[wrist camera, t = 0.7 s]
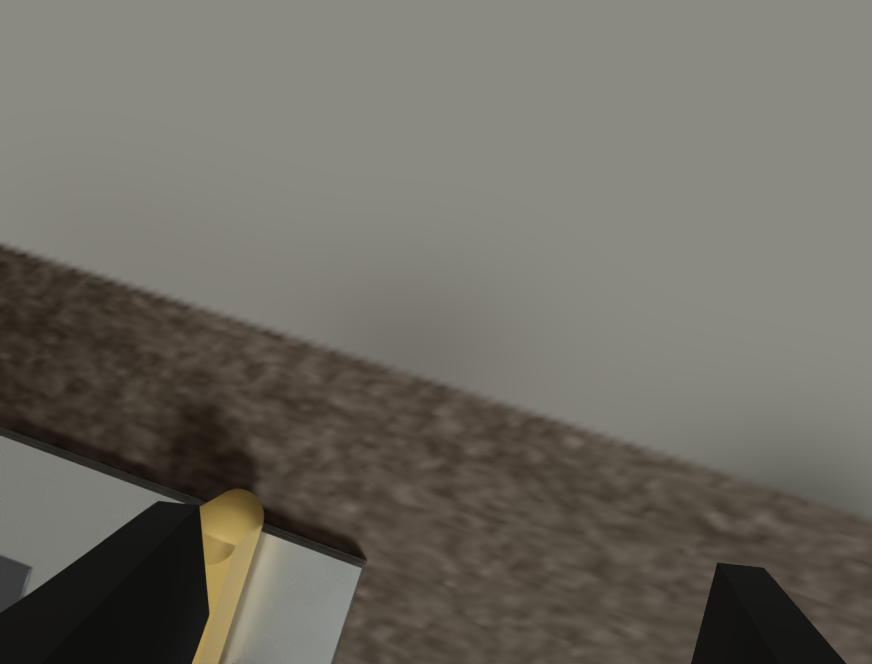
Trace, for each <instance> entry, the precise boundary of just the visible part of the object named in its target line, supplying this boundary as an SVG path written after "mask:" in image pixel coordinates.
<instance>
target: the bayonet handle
mask: <svg viewBox="0 0 872 664" xmlns="http://www.w3.org/2000/svg"><path fill="white" fill-rule="evenodd" d="M200 516H201V527H202V537H203V548H204V559H205V570H206V581H207V591H208V602H209V613H210V615H209V618H208V621H207V624H206V626H205V629H204V632H203V635H202V638H201V640H200V643H199V646H198V649H197V652H196V654H195V657H194V659H193V662H192V664H218V663H219V660H220V657H221V653H222V650H223V647H224V644H225V641H226V638H227V635H228V632H229V628H230V625H231V622H232V619H233V616H234V613H235V610H236V607H237V603H238V600H239V597H240V594H241V591H242V588H243V585H244V582H245V579H246V575H247V572H248V569H249V566H250V563H251V560H252V557H253V554H254V550H255V547H256V544H257V541H258V538H259V535H260V532H261V529H262V525H263V522H264V510H263V507H262V504H261V502H260V501H259V499H258V498H257V497H256V496H255V495H254V494H252V493H251V492H249V491H247V490H244V489H232V490H229V491H226V492H225V493H223V494H221V495H219V496H218V497H216V498H214V499H213V500H211V501H209V502H207V503H206V504H204V505H202V506H200Z"/></svg>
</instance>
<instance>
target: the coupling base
mask: <svg viewBox="0 0 872 664" xmlns="http://www.w3.org/2000/svg"><path fill="white" fill-rule="evenodd" d="M157 501H165V502H174V503H183V504H192V505H200V506H202V505H204V504H206V503H207V502H206V501H203V500H201V499H198V498H195V497H193V496H190V495H187V494H184V493H182V492H179V491H176V490H173V489H171V488H168V487H165V486H162V485H160V484H157V483H154V482H152V481H149V480H146V479H143V478H141V477H138V476H135V475H132V474H130V473H127V472H124V471H122V470H119V469H116V468H113V467H111V466H108V465H105V464H102V463H100V462H97V461H94V460H91V459H89V458H86V457H83V456H81V455H78V454H75V453H72V452H70V451H67V450H64V449H61V448H59V447H56V446H53V445H50V444H48V443H45V442H42V441H40V440H37V439H34V438H31V437H29V436H26V435H23V434H20V433H18V432H15V431H12V430H9V429H7V428H4V427H0V613H1V612H2V611H4V610H5V609H7V608H8V607H10V606H11V605H13V604H14V603H16V602H18V601H19V600H21V599H22V598H24V597H25V596H27V595H28V594H30V593H31V592H32V591H34V590H35V589H37V588H38V587H40V586H41V585H42V584H44V583H45V582H47V581H48V580H49V579H51V578H52V577H54V576H55V575H56V574H58V573H59V572H61V571H62V570H63V569H65V568H66V567H68V566H69V565H70V564H72V563H73V562H74V561H76V560H77V559H79V558H80V557H81V556H83V555H84V554H86V553H87V552H88V551H90V550H91V549H92V548H94V547H95V546H97V545H98V544H99V543H101V542H102V541H103V540H105V539H106V538H107V537H109V536H110V535H111V534H113V533H114V532H115V531H117V530H118V529H120V528H121V527H122V526H124V525H125V524H126V523H128V522H129V521H130V520H132V519H133V518H134V517H136V516H137V515H139V514H140V513H141V512H143V511H144V510H146V509H147V508H148V507H150V506H151V505H153V504H154V503H156V502H157ZM366 562H367V560H365V559H362V558H359V557H356V556H354V555H351V554H348V553H346V552H343V551H340V550H337V549H335V548H332V547H329V546H326V545H324V544H321V543H318V542H316V541H313V540H310V539H307V538H305V537H302V536H299V535H296V534H294V533H291V532H288V531H285V530H283V529H280V528H277V527H275V526H272V525H269V524H266V523H264V522H263V525H262V529H261V532H260V535H259V538H258V541H257V544H256V547H255V550H254V554H253V557H252V560H251V563H250V566H249V569H248V572H247V575H246V579H245V582H244V585H243V588H242V591H241V594H240V597H239V600H238V603H237V607H236V610H235V613H234V616H233V619H232V622H231V625H230V628H229V632H228V635H227V638H226V641H225V644H224V647H223V650H222V653H221V657H220V660H219V663H218V664H333V663H334V660H335V657H336V654H337V651H338V647H339V644H340V641H341V638H342V635H343V632H344V629H345V626H346V623H347V620H348V617H349V614H350V611H351V608H352V605H353V602H354V599H355V596H356V593H357V589H358V586H359V583H360V580H361V577H362V574H363V571H364V568H365V565H366Z"/></svg>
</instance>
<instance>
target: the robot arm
mask: <svg viewBox="0 0 872 664" xmlns="http://www.w3.org/2000/svg"><path fill="white" fill-rule="evenodd" d="M209 615H210V613H209V602H208V591H207V581H206V570H205V559H204V548H203V537H202V527H201V516H200V505H192V504H183V503H174V502H165V501H157V502H156V503H154V504H153V505H151V506H150V507H148V508H147V509H146V510H144V511H143V512H141V513H140V514H139V515H137V516H136V517H134V518H133V519H132V520H130V521H129V522H128V523H126V524H125V525H124V526H122V527H121V528H120V529H118V530H117V531H115V532H114V533H113V534H111V535H110V536H109V537H107V538H106V539H105V540H103V541H102V542H101V543H99V544H98V545H97V546H95V547H94V548H92V549H91V550H90V551H88V552H87V553H86V554H84V555H83V556H81V557H80V558H79V559H77V560H76V561H74V562H73V563H72V564H70V565H69V566H68V567H66V568H65V569H63V570H62V571H61V572H59V573H58V574H56V575H55V576H54V577H52V578H51V579H49V580H48V581H47V582H45V583H44V584H42V585H41V586H40V587H38V588H37V589H35V590H34V591H32V592H31V593H30V594H28V595H27V596H25V597H24V598H22V599H21V600H19V601H18V602H16V603H14V604H13V605H11V606H10V607H8V608H7V609H5V610H4V611H2V612H1V613H0V664H192V662H193V659H194V657H195V654H196V652H197V649H198V646H199V643H200V640H201V638H202V635H203V632H204V629H205V626H206V624H207V621H208V618H209ZM691 664H846V663H845V662H844V660H843V659H842V658H841V657H840V656H839V655H838V654H837V652H836V651H835V650H834V649H833V648H832V647H831V646H830V644H829V643H828V642H827V641H826V640H825V639H824V637H823V636H822V635H821V634H820V633H819V632H818V630H817V629H816V628H815V627H814V626H813V625H812V624H811V622H810V621H809V620H808V619H807V618H806V616H805V615H804V614H803V613H802V612H801V611H800V609H799V608H798V607H797V606H796V605H795V603H794V602H793V601H792V600H791V599H790V598H789V596H788V595H787V594H786V593H785V592H784V591H783V589H782V588H781V587H780V586H779V585H778V583H777V582H776V581H775V580H774V579H773V578H772V577H771V575H770V574H769V573H768V572H767V571H766V570H765V569H764V568H760V567H751V566H742V565H733V564H724V563H717V566H716V570H715V574H714V578H713V582H712V586H711V589H710V593H709V597H708V601H707V605H706V609H705V612H704V616H703V620H702V624H701V628H700V632H699V635H698V639H697V643H696V647H695V651H694V655H693V659H692V662H691Z"/></svg>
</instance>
